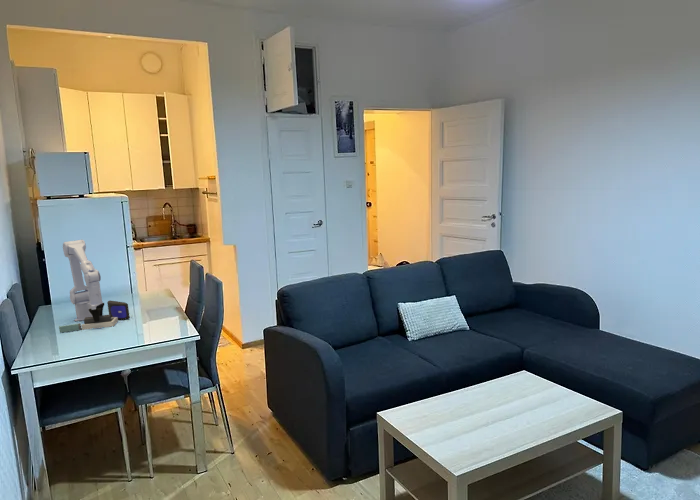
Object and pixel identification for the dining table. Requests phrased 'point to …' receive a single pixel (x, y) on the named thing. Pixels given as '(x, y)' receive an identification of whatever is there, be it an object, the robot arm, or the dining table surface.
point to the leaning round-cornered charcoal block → (118, 310)
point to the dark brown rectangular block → (102, 319)
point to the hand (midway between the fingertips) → (98, 319)
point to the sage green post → (70, 327)
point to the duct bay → (100, 324)
